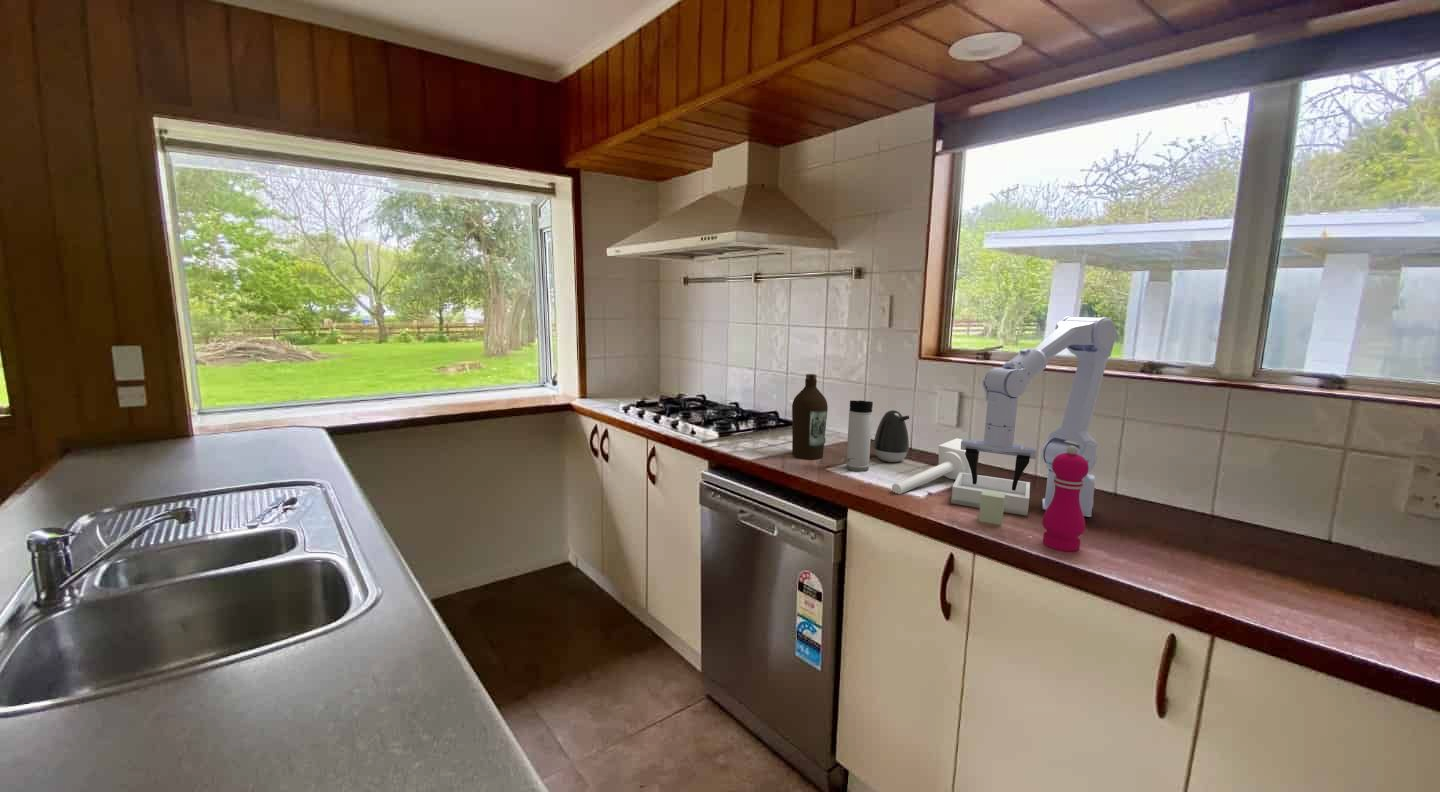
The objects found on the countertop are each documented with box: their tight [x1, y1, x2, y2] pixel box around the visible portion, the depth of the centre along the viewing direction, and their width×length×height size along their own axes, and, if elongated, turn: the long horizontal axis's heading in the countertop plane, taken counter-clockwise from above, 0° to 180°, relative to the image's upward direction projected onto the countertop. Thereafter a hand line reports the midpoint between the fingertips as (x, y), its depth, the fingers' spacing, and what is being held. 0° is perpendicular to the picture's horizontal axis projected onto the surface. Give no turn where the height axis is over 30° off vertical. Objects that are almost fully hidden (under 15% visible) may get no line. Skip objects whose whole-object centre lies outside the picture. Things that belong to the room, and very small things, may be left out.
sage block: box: [978, 489, 1005, 526], centre depth 126 cm, size 4×4×6 cm
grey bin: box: [950, 472, 1031, 517], centre depth 139 cm, size 16×14×4 cm
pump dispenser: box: [873, 409, 910, 463], centre depth 173 cm, size 10×10×15 cm
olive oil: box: [791, 373, 829, 460], centre depth 176 cm, size 11×11×25 cm
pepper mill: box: [1041, 446, 1089, 553], centre depth 112 cm, size 7×7×20 cm
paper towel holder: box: [891, 438, 972, 495], centre depth 152 cm, size 9×9×32 cm
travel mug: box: [845, 399, 873, 473], centre depth 163 cm, size 6×7×20 cm
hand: (993, 486), depth 125 cm, fingers open, 7 cm apart
